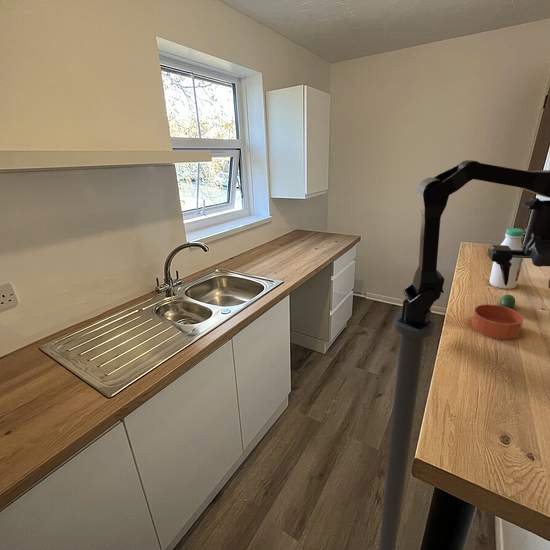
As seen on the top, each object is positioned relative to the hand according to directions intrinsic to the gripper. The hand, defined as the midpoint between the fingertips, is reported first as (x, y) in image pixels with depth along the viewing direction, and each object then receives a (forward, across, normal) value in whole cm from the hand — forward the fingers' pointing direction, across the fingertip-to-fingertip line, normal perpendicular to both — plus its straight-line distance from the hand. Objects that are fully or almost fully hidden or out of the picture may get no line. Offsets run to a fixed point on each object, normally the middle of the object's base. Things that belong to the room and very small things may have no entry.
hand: (527, 286), depth 77 cm
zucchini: (+13, 0, +12) cm, 18 cm away
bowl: (+13, -5, -1) cm, 14 cm away
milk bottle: (+13, +4, +30) cm, 33 cm away
